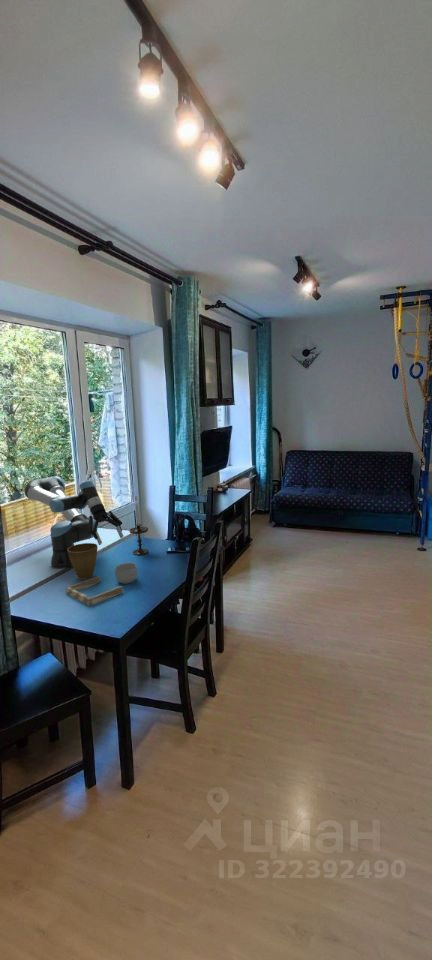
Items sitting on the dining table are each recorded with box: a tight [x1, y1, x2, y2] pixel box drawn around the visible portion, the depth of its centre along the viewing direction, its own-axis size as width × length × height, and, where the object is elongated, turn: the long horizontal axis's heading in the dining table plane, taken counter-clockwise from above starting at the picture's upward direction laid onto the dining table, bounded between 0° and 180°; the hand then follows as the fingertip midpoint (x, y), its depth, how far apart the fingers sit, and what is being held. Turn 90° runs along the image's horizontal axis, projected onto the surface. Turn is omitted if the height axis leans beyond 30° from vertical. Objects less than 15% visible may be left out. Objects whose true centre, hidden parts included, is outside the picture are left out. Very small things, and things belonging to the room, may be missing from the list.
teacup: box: [114, 561, 138, 585], centre depth 226 cm, size 14×11×8 cm
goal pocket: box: [65, 575, 124, 607], centre depth 213 cm, size 21×18×3 cm
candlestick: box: [128, 495, 149, 556], centre depth 263 cm, size 11×11×35 cm
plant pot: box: [67, 542, 98, 580], centre depth 233 cm, size 15×15×16 cm
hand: (111, 540), depth 241 cm, fingers open, 13 cm apart
